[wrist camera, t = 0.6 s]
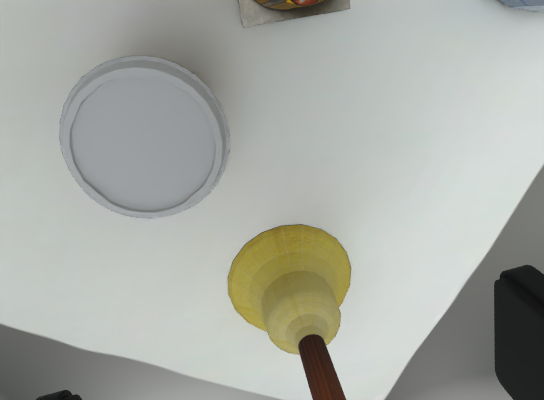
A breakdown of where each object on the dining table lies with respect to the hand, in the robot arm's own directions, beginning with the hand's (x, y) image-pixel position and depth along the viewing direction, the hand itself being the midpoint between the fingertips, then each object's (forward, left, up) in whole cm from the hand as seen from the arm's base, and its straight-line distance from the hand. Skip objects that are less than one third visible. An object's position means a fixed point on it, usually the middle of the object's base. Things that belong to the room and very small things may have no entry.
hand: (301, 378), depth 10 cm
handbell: (+17, +2, -29) cm, 34 cm away
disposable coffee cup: (-2, -5, -29) cm, 30 cm away
